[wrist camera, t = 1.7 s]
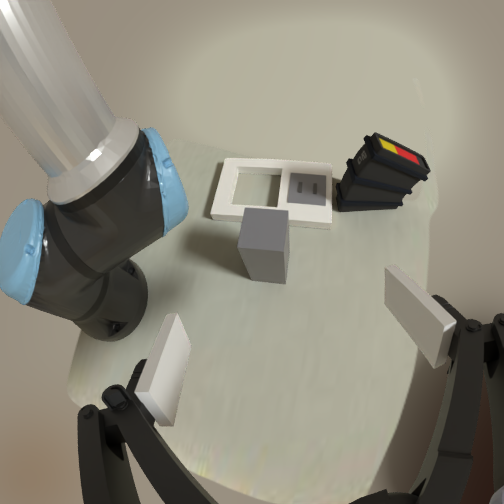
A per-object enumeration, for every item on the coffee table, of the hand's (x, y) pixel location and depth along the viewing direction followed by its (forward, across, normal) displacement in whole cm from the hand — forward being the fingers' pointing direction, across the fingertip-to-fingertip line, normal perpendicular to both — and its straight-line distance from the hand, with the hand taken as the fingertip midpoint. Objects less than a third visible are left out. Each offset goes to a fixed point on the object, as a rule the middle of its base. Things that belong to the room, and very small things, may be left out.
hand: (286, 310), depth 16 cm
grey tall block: (+24, 0, -7) cm, 25 cm away
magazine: (+29, +19, -2) cm, 35 cm away
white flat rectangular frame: (+32, +3, +2) cm, 33 cm away
